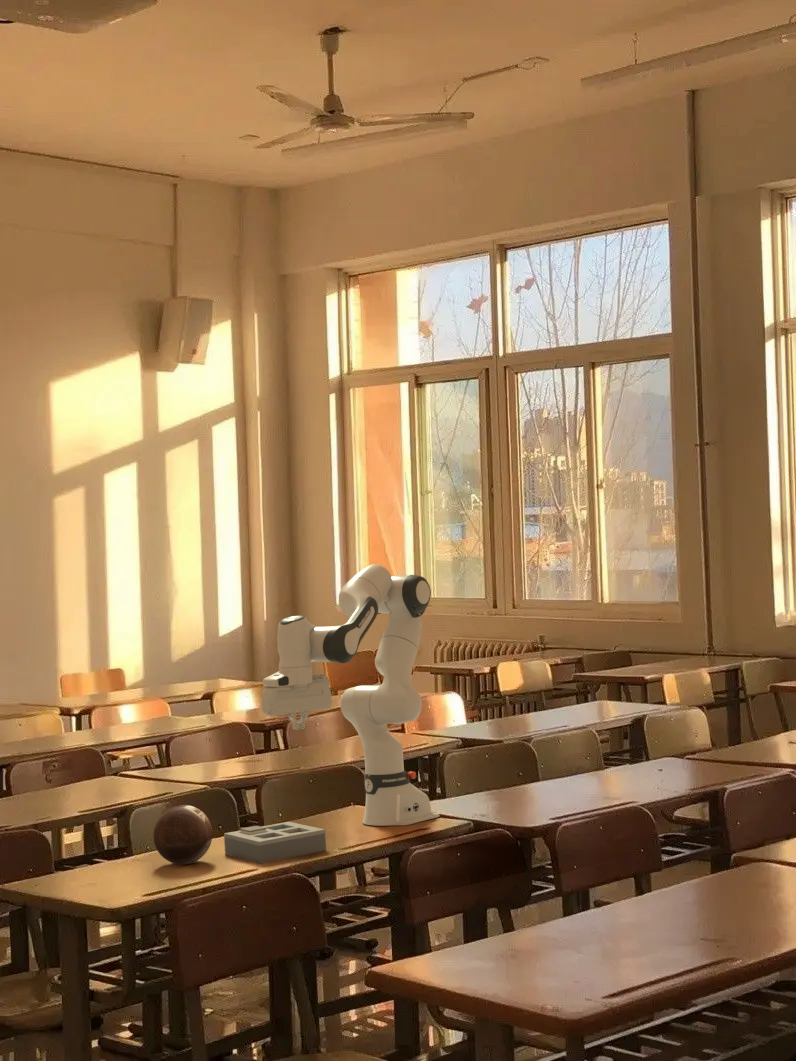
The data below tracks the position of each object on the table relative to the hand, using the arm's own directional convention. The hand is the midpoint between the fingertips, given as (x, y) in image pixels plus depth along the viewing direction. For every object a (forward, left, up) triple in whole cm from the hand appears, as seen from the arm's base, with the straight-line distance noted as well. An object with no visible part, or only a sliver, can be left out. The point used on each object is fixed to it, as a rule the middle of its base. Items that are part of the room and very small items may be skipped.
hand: (298, 729), depth 400 cm
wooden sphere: (+33, -6, -31) cm, 46 cm away
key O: (+14, -3, -28) cm, 31 cm away
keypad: (+10, +1, -31) cm, 33 cm away
